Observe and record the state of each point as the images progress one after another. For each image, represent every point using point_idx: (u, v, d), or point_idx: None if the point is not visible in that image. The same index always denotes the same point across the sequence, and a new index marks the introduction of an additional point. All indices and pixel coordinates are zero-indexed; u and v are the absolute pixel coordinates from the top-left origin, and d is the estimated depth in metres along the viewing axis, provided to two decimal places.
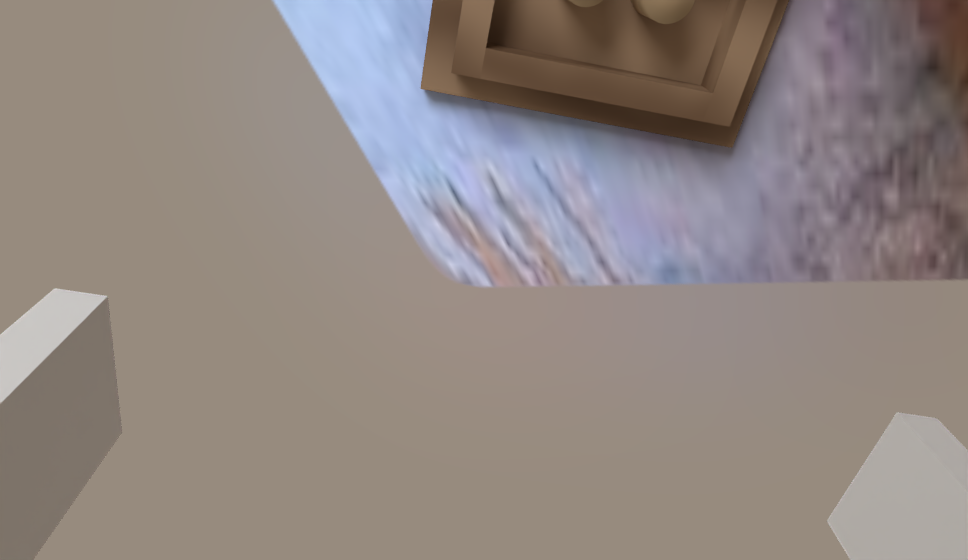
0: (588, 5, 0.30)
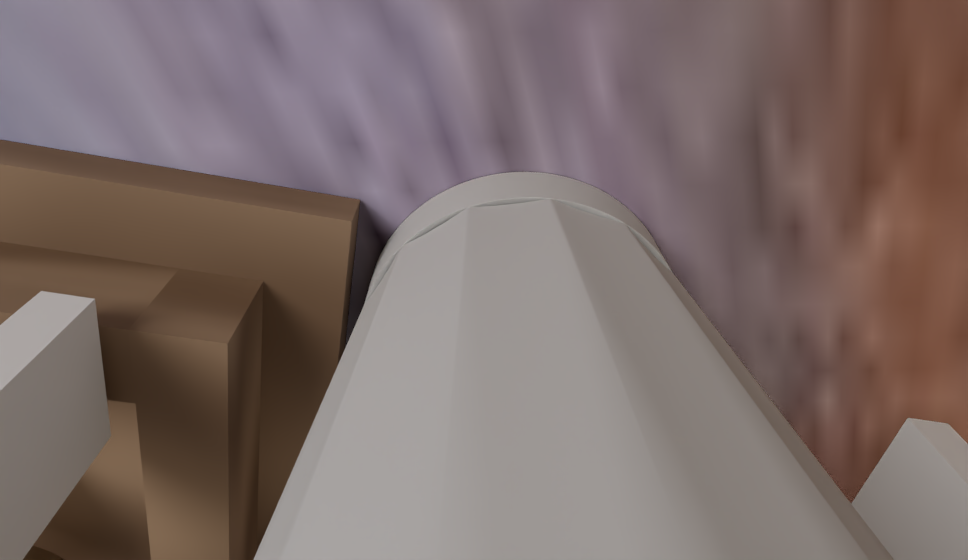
0: None
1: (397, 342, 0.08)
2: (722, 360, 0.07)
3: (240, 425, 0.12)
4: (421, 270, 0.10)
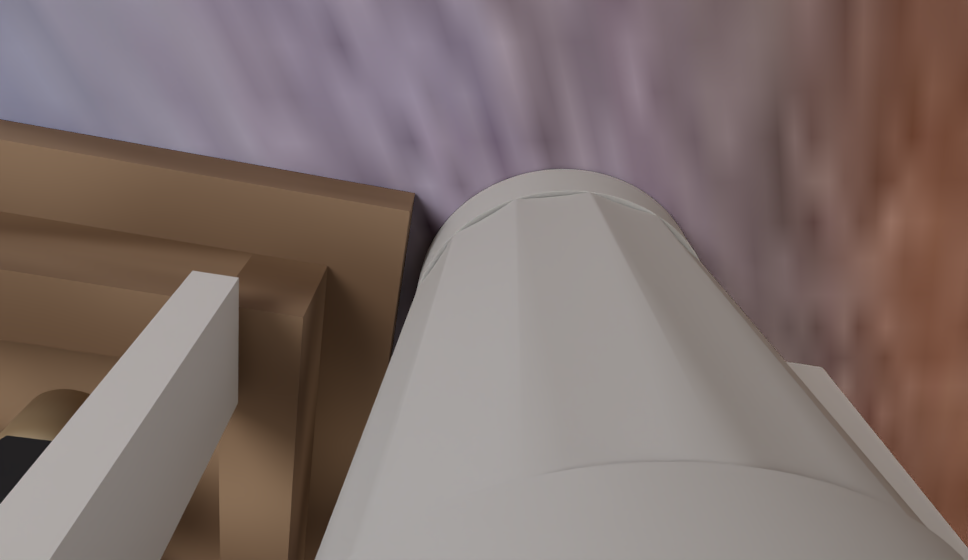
0: None
1: (461, 309, 0.09)
2: (748, 325, 0.08)
3: (305, 396, 0.13)
4: (476, 252, 0.11)
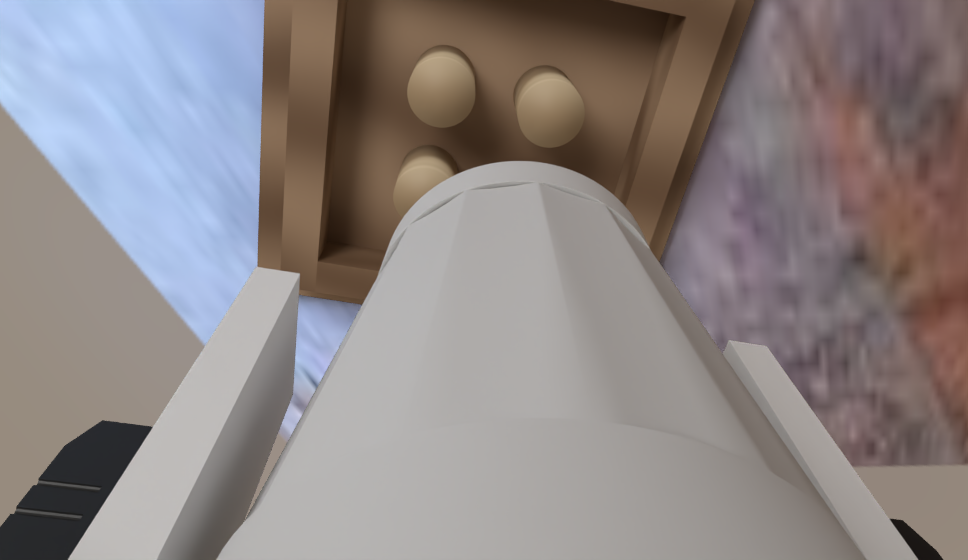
0: None
1: (396, 292, 0.09)
2: (663, 303, 0.09)
3: None
4: (422, 240, 0.11)
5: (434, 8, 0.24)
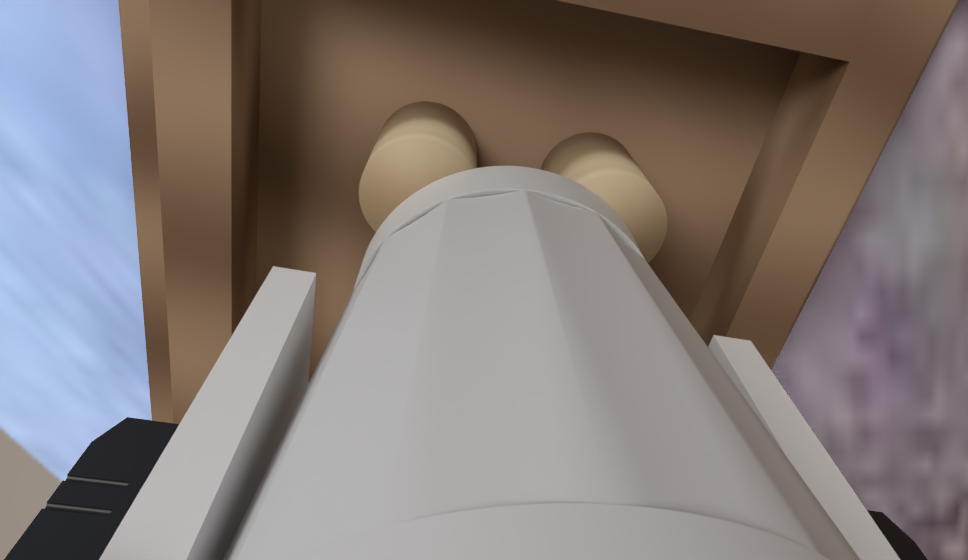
0: None
1: (373, 322, 0.08)
2: (671, 332, 0.08)
3: None
4: (400, 258, 0.10)
5: (408, 43, 0.14)
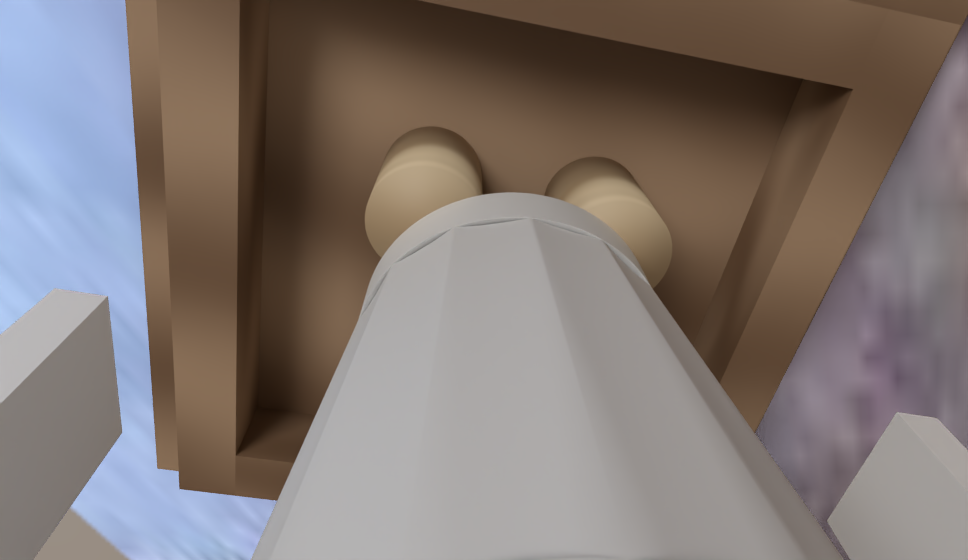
0: None
1: (382, 356, 0.08)
2: (681, 368, 0.08)
3: None
4: (408, 288, 0.10)
5: (414, 69, 0.14)
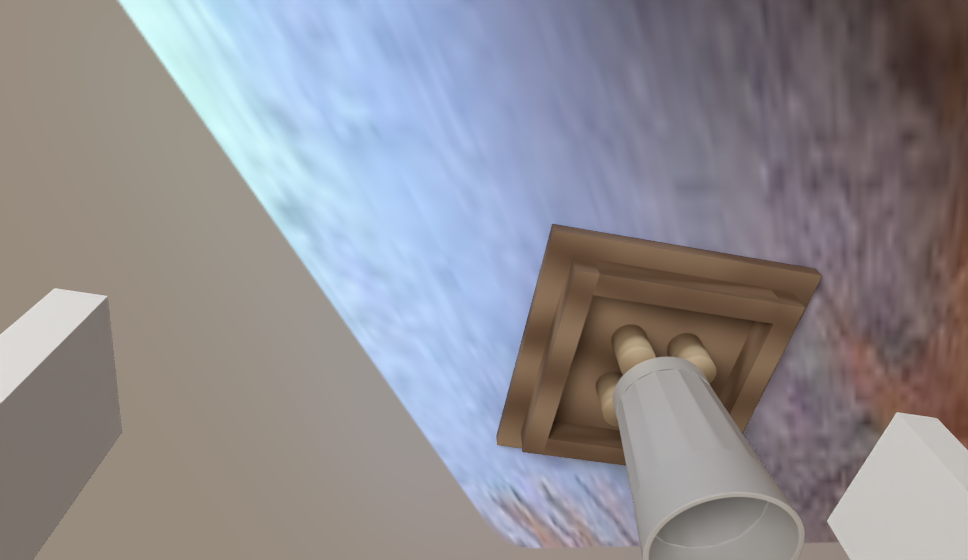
0: None
1: (655, 413, 0.36)
2: (725, 417, 0.36)
3: None
4: (649, 392, 0.38)
5: (628, 308, 0.42)
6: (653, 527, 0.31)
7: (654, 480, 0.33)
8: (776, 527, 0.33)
